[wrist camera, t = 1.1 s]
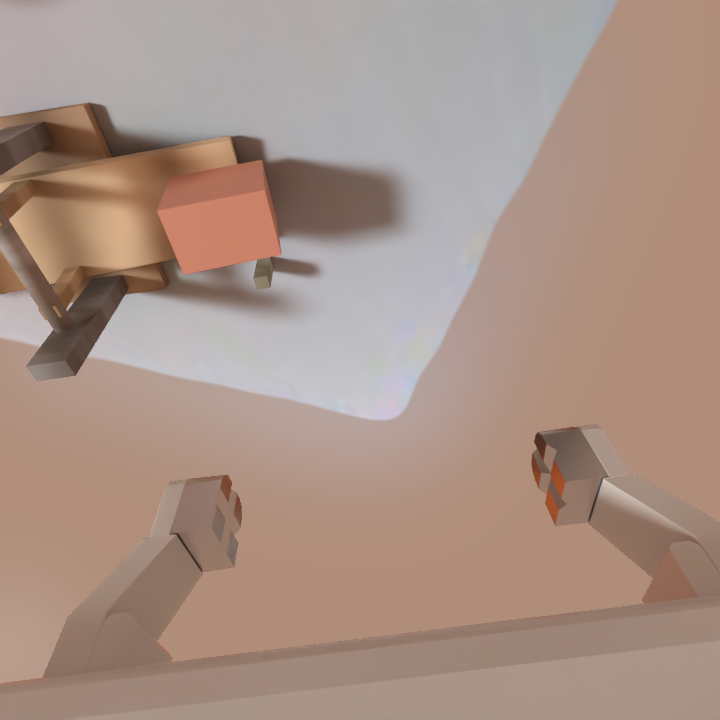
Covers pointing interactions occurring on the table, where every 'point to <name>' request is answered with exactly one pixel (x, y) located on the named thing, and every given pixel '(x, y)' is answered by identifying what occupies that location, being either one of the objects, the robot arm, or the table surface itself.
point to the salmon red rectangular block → (220, 217)
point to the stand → (95, 293)
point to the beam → (91, 220)
